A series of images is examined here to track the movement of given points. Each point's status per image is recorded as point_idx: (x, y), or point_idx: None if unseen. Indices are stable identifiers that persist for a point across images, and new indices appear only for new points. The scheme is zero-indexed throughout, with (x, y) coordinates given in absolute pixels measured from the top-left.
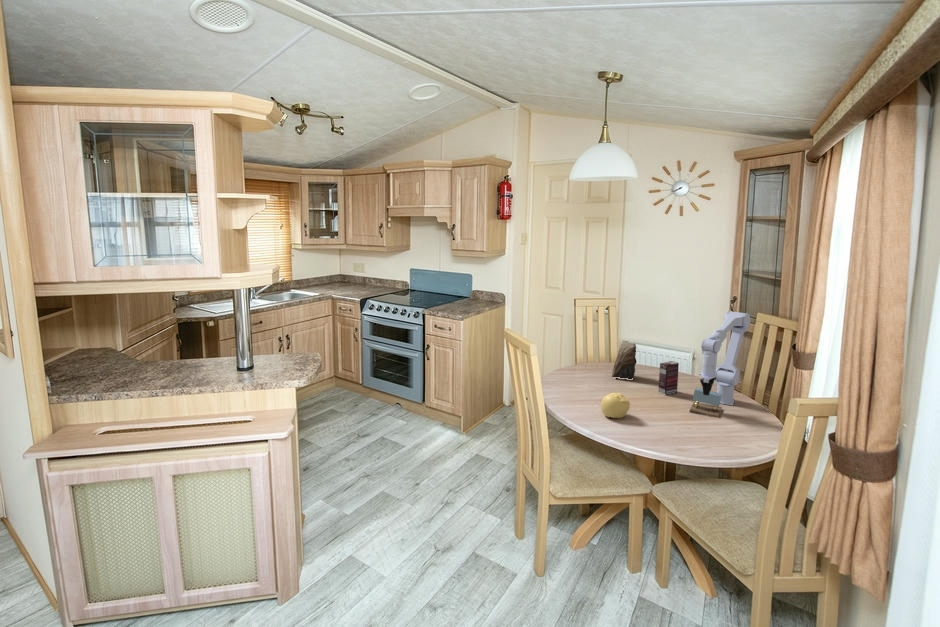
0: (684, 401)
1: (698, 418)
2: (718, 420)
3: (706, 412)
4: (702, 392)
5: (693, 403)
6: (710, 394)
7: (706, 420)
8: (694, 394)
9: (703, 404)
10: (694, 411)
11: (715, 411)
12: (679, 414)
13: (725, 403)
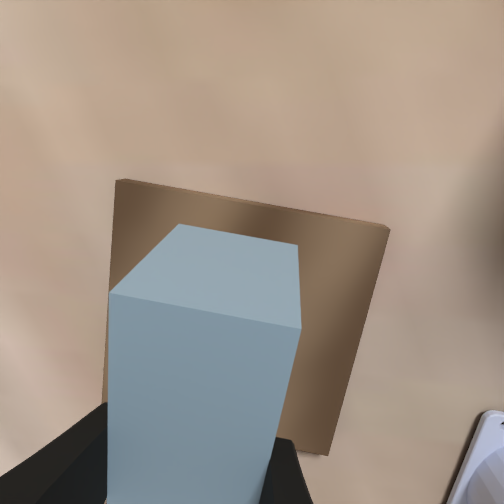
0: (449, 128)
1: (14, 252)
2: (53, 392)
3: None
4: (113, 404)
5: (344, 223)
6: (112, 496)
7: (5, 310)
8: (150, 261)
9: (345, 317)
10: (113, 226)
11: None
12: (23, 82)
13: (457, 491)
